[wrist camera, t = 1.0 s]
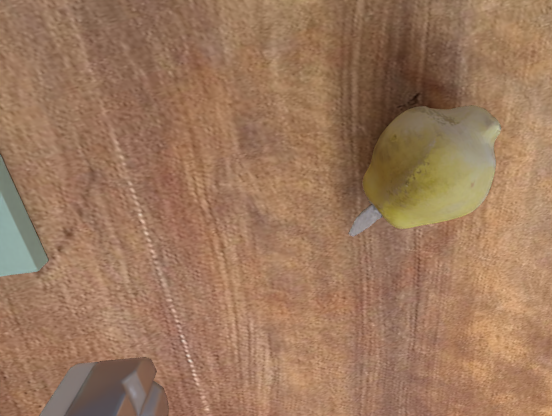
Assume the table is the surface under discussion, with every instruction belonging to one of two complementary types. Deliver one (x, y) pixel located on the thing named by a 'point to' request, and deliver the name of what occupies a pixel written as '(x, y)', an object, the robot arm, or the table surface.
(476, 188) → the fruit
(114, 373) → the robot arm
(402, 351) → the table surface
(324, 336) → the table surface
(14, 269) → the scale
